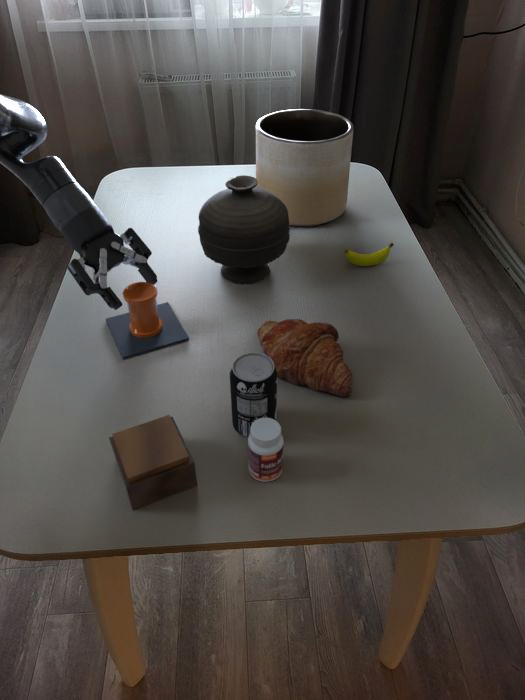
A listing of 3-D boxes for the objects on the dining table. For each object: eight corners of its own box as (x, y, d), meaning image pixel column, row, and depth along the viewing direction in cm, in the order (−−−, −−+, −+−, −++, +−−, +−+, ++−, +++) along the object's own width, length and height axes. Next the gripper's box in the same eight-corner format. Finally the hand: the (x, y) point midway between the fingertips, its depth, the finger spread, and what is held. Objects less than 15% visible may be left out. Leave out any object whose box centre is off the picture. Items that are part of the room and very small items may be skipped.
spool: (147, 342, 97) (140, 305, 92) (123, 330, 100) (115, 293, 94) (169, 325, 101) (164, 288, 96) (145, 314, 103) (139, 278, 98)
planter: (271, 183, 147) (271, 104, 134) (353, 194, 142) (362, 113, 129) (243, 221, 131) (240, 136, 118) (335, 236, 126) (343, 148, 113)
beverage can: (257, 402, 87) (256, 343, 79) (285, 427, 83) (287, 368, 75) (223, 422, 84) (219, 363, 76) (251, 449, 80) (249, 390, 72)
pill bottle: (263, 489, 75) (263, 449, 69) (241, 466, 77) (239, 426, 72) (289, 470, 77) (291, 430, 71) (267, 449, 80) (267, 409, 74)
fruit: (388, 260, 118) (392, 240, 115) (391, 266, 116) (395, 245, 113) (341, 264, 117) (344, 243, 114) (344, 269, 116) (346, 248, 112)
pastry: (244, 390, 89) (243, 352, 84) (258, 330, 100) (258, 294, 95) (350, 401, 87) (356, 363, 82) (352, 338, 98) (357, 302, 93)
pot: (185, 286, 110) (181, 187, 98) (217, 249, 124) (217, 158, 112) (271, 304, 106) (278, 203, 94) (295, 263, 120) (303, 171, 108)
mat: (122, 359, 94) (122, 357, 94) (105, 320, 103) (105, 318, 102) (189, 340, 98) (189, 337, 98) (168, 303, 107) (167, 301, 106)
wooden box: (132, 510, 72) (124, 483, 68) (115, 460, 78) (107, 432, 74) (197, 485, 75) (193, 457, 71) (176, 439, 81) (171, 411, 77)
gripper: (50, 224, 86) (115, 308, 89) (117, 191, 95) (174, 268, 98) (37, 244, 92) (99, 323, 95) (101, 211, 101) (156, 284, 104)
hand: (137, 295), depth 96 cm, fingers open, 8 cm apart
